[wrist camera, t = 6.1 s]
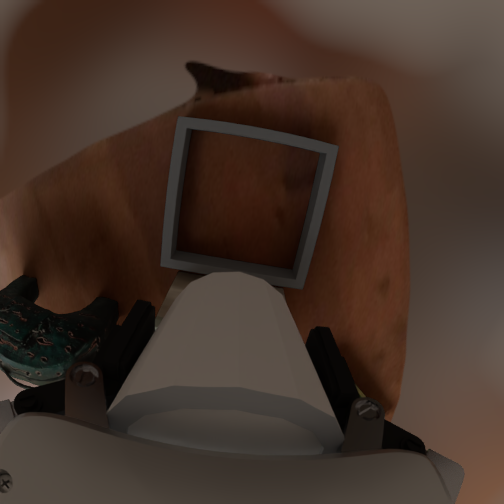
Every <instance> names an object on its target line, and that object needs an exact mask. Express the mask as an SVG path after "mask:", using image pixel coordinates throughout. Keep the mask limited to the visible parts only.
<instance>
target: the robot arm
mask: <svg viewBox="0 0 504 504" xmlns="http://www.w3.org/2000/svg"><path fill="white" fill-rule="evenodd" d="M154 332H155V307H154V306H151V302H148V301H143V300H137V301H136V303H135V305H134V306H133V308H132V309H131V311H130V313H129V314H128V316H127V317H126V319H125V321H124V322H123V324H122V326H119V325H115V326H114V327H113V329H112V330H111V332H110V334H109V335H108V337H107V338H106V340H105V342H104V343H103V345H102V346H101V348H100V350H99V351H98V353H97V355H96V356H95V358H94V360H93V361H92V363H91V362H84V361H83V362H78V363H75V364H73V365H72V366H70V367H69V368H68V370H67V372H66V378H65V379H63V380H60V381H56V382H53V383H49V384H45V385H41V386H38V387H34V388H30V389H26V390H23V391H21V392H20V393H19V394H17V396H16V397H15V399H14V401H12V402H10V400H9V399H8V400H4V401H0V504H455V501H456V499H457V496H458V493H459V491H460V488H461V485H462V482H463V479H464V469H463V468H462V466H461V465H459V464H458V463H456V462H454V461H452V460H450V459H448V458H446V457H444V456H442V455H440V454H439V453H436V452H435V451H433V450H431V449H428V450H425V445H424V443H423V442H422V440H421V439H419V438H418V437H417V436H415V435H413V434H411V433H409V432H407V431H405V430H403V429H402V428H400V427H398V426H396V425H394V424H392V423H391V422H389V421H387V420H385V419H384V418H385V412H384V409H383V407H382V405H381V404H380V403H379V402H377V401H376V400H374V399H372V398H368V397H360V395H359V393H358V390H357V388H356V385H355V383H354V380H353V378H352V375H351V373H350V370H349V368H348V366H347V363H346V361H345V359H344V357H342V356H341V354H340V352H339V349H338V347H337V345H336V342H335V340H334V337H333V335H332V333H331V330H330V328H329V327H320V326H316V327H315V329H311V331H310V333H309V336H308V339H307V342H306V344H305V347H306V349H307V351H308V354H309V356H310V358H311V361H312V363H313V365H314V368H315V370H316V372H317V375H318V377H319V379H320V382H321V384H322V386H323V389H324V391H325V393H326V396H327V398H328V400H329V403H330V405H331V407H332V410H333V412H334V414H335V417H336V419H337V421H338V424H339V426H340V429H341V431H342V433H343V436H344V438H345V440H344V441H343V442H342V443H341V445H340V446H339V447H338V449H337V451H336V453H333V454H317V455H255V454H240V453H228V452H219V451H210V450H203V449H196V448H190V447H184V446H178V445H172V444H167V443H162V442H158V441H153V440H149V439H145V438H141V437H137V436H133V435H129V434H125V433H122V432H118V431H115V430H111V425H110V422H109V419H108V415H107V414H106V413H107V411H108V410H109V408H110V406H111V404H112V403H113V401H114V399H115V397H116V396H117V394H118V392H119V390H120V389H121V387H122V385H123V384H124V382H125V380H126V378H127V377H128V375H129V373H130V372H131V370H132V368H133V367H134V365H135V363H136V362H137V360H138V358H139V357H140V355H141V353H142V352H143V350H144V348H145V347H146V345H147V343H148V342H149V340H150V339H151V337H152V335H153V334H154Z"/></svg>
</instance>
